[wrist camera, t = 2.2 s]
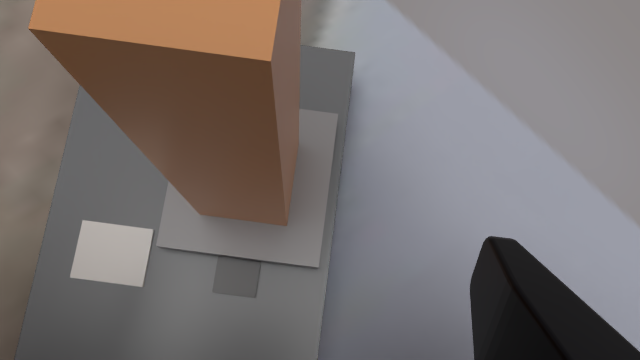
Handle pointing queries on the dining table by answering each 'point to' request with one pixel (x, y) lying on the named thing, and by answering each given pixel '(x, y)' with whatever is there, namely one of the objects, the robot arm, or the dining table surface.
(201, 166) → the handle
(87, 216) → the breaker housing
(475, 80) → the dining table surface
